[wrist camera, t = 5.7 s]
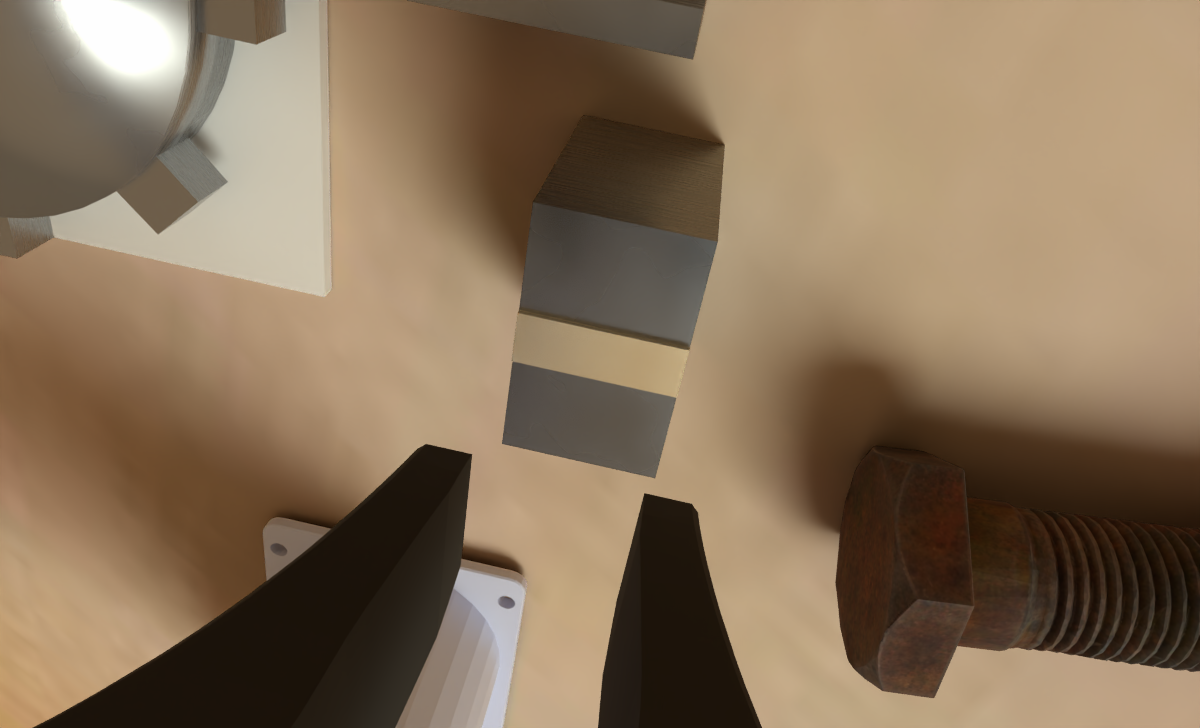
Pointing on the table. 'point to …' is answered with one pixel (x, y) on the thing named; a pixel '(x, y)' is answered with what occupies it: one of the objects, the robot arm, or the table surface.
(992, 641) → the dark brown lumpy bar
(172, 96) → the sprocket
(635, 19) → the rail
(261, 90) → the board
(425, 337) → the table surface
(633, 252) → the banded grey block
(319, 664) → the robot arm
